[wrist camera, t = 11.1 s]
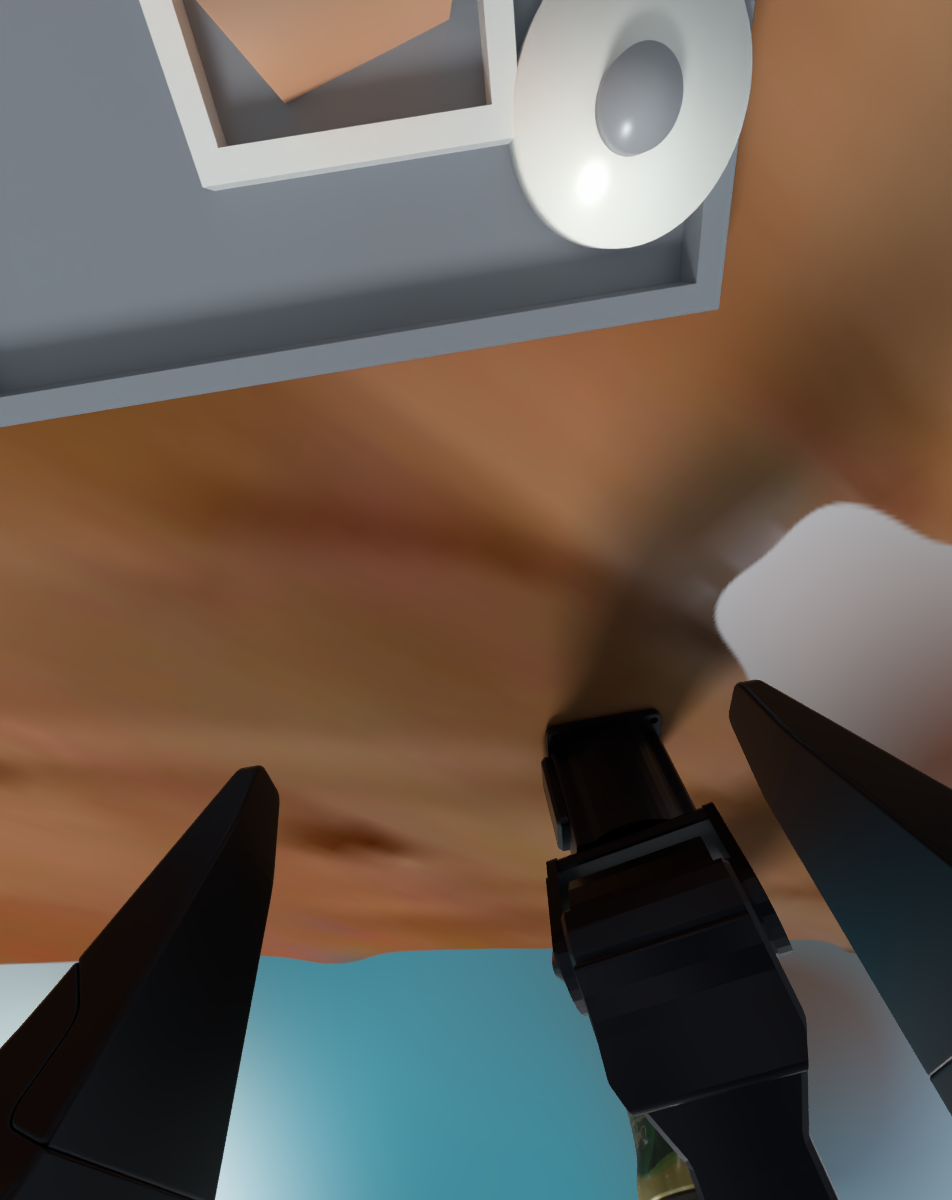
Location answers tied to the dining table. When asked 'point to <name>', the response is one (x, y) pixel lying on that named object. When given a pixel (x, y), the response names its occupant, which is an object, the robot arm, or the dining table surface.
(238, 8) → the block
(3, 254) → the grey rectangular tray
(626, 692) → the dining table surface
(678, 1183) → the coffee jar
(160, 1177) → the robot arm
